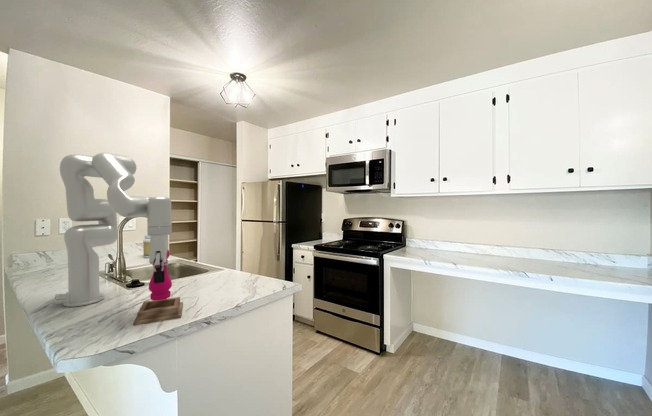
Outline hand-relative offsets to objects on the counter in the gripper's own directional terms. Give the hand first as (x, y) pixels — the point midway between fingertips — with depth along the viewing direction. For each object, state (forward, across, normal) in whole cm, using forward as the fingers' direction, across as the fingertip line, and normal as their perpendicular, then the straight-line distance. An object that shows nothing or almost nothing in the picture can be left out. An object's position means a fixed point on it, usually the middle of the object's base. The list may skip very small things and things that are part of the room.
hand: (160, 279), depth 98 cm
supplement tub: (+12, -127, -19) cm, 129 cm away
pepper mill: (+7, 0, 0) cm, 7 cm away
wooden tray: (+13, 0, 0) cm, 13 cm away
